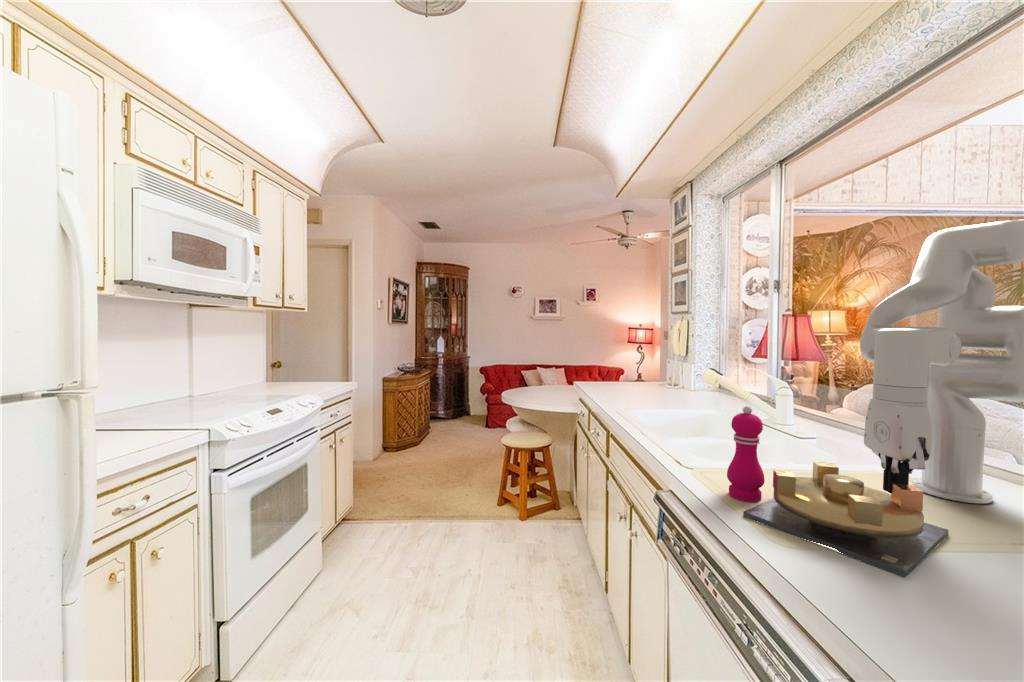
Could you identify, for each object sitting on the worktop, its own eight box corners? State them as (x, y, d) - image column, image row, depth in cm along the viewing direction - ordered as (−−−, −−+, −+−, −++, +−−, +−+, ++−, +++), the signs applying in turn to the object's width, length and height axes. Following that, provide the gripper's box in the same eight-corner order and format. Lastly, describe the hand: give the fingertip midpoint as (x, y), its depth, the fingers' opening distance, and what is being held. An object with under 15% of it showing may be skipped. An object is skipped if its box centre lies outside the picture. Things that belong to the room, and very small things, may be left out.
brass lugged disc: (815, 480, 94) (816, 455, 94) (949, 522, 74) (950, 491, 74) (748, 496, 85) (749, 469, 85) (880, 549, 65) (882, 514, 65)
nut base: (799, 490, 96) (800, 477, 96) (948, 535, 76) (949, 518, 76) (743, 516, 83) (743, 501, 83) (905, 578, 63) (905, 558, 63)
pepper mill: (769, 505, 89) (772, 410, 88) (732, 501, 90) (734, 408, 89) (756, 491, 96) (759, 403, 95) (722, 489, 97) (724, 402, 96)
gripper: (849, 388, 86) (846, 477, 87) (911, 401, 71) (907, 508, 72) (888, 388, 85) (885, 478, 86) (960, 402, 71) (955, 510, 71)
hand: (895, 492), depth 79 cm, fingers closed
